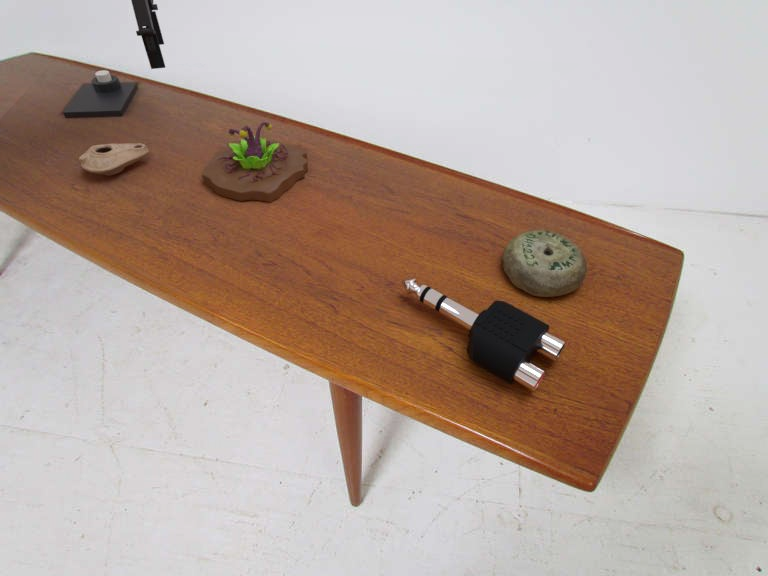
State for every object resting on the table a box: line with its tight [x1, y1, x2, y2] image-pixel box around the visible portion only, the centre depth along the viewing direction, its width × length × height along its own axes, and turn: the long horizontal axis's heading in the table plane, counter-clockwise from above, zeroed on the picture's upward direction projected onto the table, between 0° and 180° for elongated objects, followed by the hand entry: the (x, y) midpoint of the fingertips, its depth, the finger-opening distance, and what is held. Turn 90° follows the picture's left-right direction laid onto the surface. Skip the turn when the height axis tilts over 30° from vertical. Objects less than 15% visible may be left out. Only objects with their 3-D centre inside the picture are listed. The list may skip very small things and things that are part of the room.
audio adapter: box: [401, 278, 567, 392], centre depth 72 cm, size 11×5×25 cm
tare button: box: [94, 69, 112, 83], centre depth 125 cm, size 3×3×2 cm
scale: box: [62, 74, 139, 119], centre depth 123 cm, size 13×16×4 cm
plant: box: [201, 121, 309, 203], centre depth 99 cm, size 20×20×11 cm
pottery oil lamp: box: [78, 142, 150, 177], centre depth 101 cm, size 9×12×7 cm
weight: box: [501, 229, 588, 298], centre depth 81 cm, size 14×13×5 cm
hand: (158, 55), depth 106 cm, fingers open, 13 cm apart
